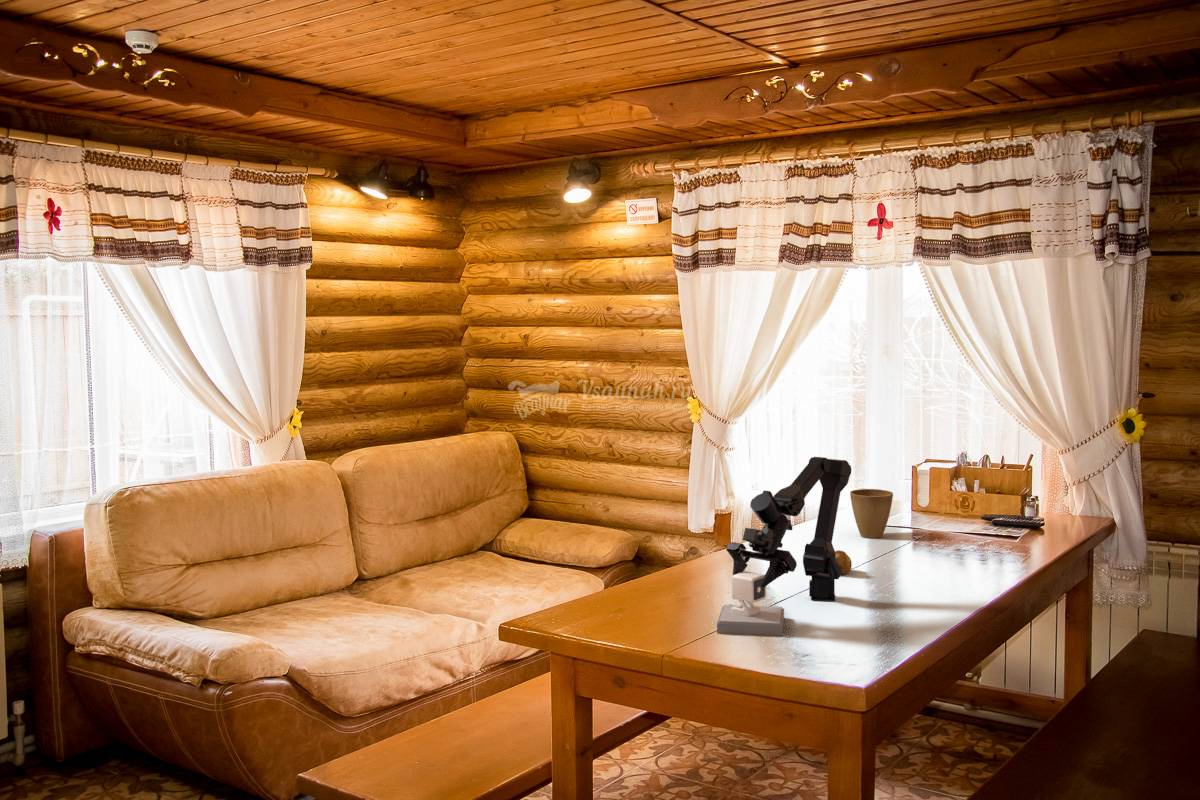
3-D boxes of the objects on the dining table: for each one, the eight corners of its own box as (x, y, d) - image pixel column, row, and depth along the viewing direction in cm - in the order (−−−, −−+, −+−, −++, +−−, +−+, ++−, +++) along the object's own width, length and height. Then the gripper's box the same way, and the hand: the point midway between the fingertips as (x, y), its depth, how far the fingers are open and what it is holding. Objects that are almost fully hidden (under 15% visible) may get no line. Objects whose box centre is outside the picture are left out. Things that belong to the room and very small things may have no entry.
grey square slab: (784, 617, 275) (784, 606, 275) (781, 635, 259) (781, 623, 259) (722, 615, 278) (722, 604, 278) (717, 633, 263) (716, 621, 262)
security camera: (752, 618, 265) (751, 578, 264) (729, 613, 269) (729, 574, 269) (766, 612, 269) (766, 574, 268) (744, 608, 274) (743, 570, 273)
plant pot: (841, 535, 378) (841, 491, 377) (874, 530, 384) (874, 487, 383) (868, 542, 365) (868, 496, 364) (902, 538, 371) (902, 493, 370)
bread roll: (804, 572, 324) (804, 546, 324) (820, 566, 332) (820, 541, 331) (842, 578, 316) (842, 552, 315) (857, 572, 323) (857, 546, 323)
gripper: (729, 511, 276) (704, 560, 269) (790, 519, 263) (764, 571, 256) (748, 536, 282) (723, 584, 275) (807, 545, 269) (783, 596, 262)
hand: (747, 583), depth 267 cm, fingers open, 9 cm apart
